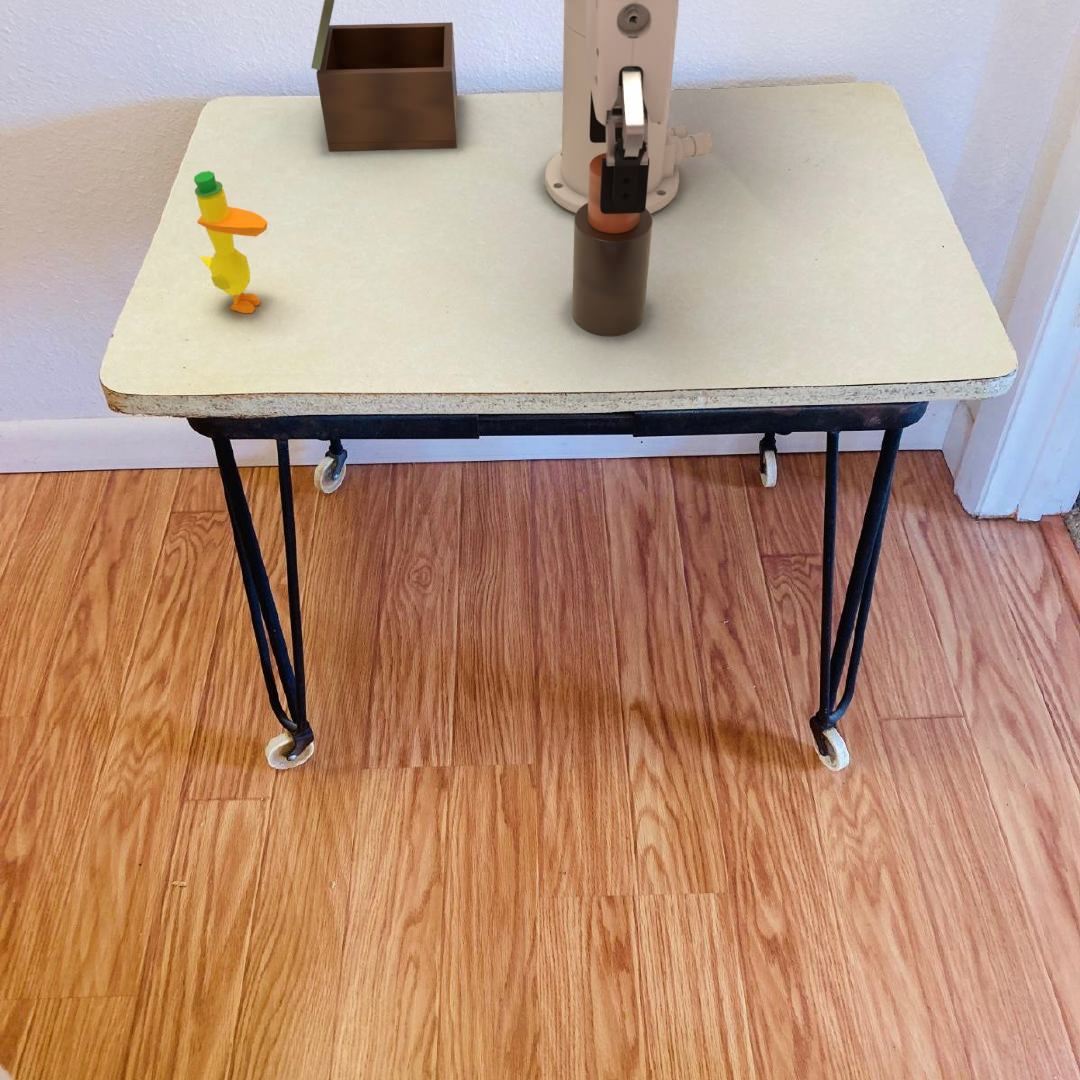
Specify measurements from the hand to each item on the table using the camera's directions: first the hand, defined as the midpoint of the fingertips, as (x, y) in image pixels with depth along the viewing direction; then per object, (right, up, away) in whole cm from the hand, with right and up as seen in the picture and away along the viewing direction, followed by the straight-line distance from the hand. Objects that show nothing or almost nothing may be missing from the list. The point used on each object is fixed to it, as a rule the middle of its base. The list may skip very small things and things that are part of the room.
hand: (616, 174), depth 80 cm
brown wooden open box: (-20, +15, +30) cm, 39 cm away
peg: (0, -2, +3) cm, 4 cm away
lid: (-24, +25, +19) cm, 39 cm away
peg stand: (0, -8, +10) cm, 13 cm away
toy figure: (-30, -8, +11) cm, 33 cm away
